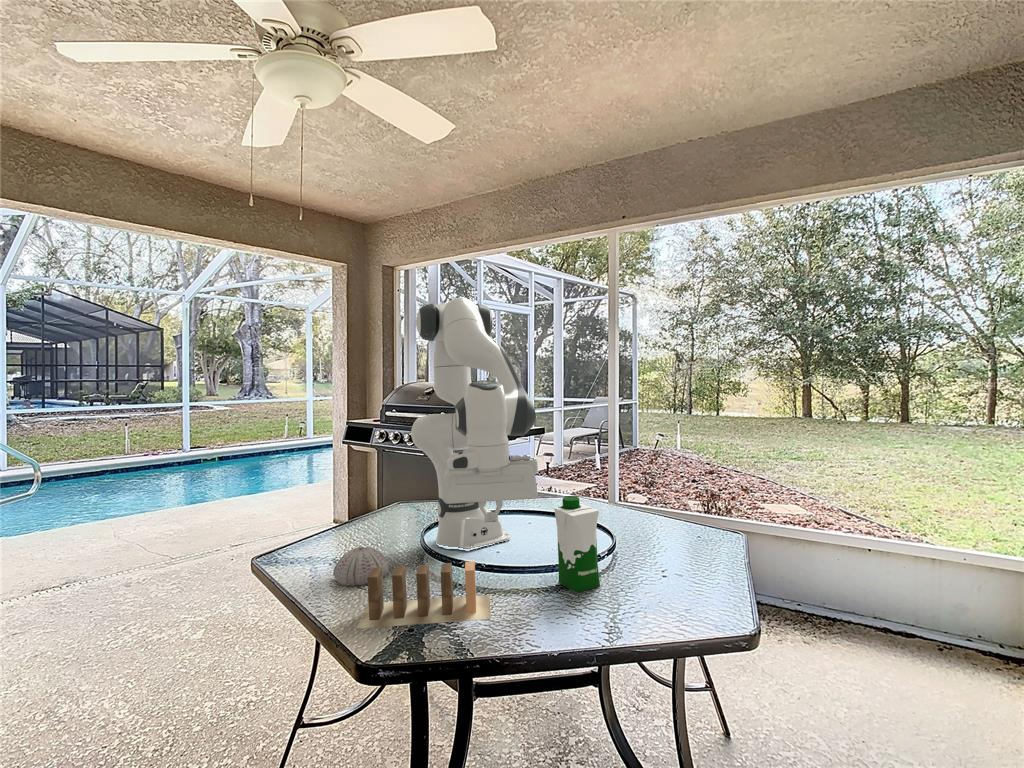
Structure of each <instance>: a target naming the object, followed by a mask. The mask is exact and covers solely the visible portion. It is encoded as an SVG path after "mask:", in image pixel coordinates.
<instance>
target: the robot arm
mask: <svg viewBox="0 0 1024 768" xmlns="http://www.w3.org/2000/svg"><path fill="white" fill-rule="evenodd" d="M493 326H494V317H493V314H492V310H491V309H490V307H489V306H487V305H484V304H481V303H476V304H475V302H474V301H472V300H471V299H469V298H466V297H456V298H452V299H451V300H449V301H448V302H447V303H438V304H437V303H436V304H433V303H428V304H424V305H421V307H420V308H419V309H418V312H417V314H416V317H415V327H416V330H417V332H418V335H419V337H420V338H421V339H422V340H425V341H428V342H434V341H435V344H434V350H433V351H434V353H433V380H434V381H433V385H434V386H433V387H434V393H435V395H436V396H437V397H438V398H439V399H440V400H442V401H445V402H447V403H449V404H451V405H453V406H454V413H434V414H428V415H423V416H419V417H417V418H416V419H415V421H414V422H413V424H412V427H411V429H410V436H411V440H412V442H413V445H415V447H416V448H417V449H418V450H420V451H422V452H423V453H425V455H426V456H427V457H428V458H429V459H430V461H431V462H432V464H433V467H434V469H435V472H436V479H437V487H438V496H437V504H436V505H437V515H438V527H437V536H436V540H435V543H437V544H439V545H443V546H448V547H458V548H463V549H471V548H475V547H480V546H484V545H489V544H493V543H498V542H502V543H504V542H503V541H505V542H509V541H510V540H511V535H510V533H509V532H508V531H507V530H506V529H505V528H503V525H502V521H501V519H500V518H499V513H500V511H502V510H501V509H502V508H503V507H504V506H503V502H504V501H505V502H507V501H521V500H535V499H536V497H537V496H538V493H539V492H538V484H537V479H536V475H537V474H538V473H537V472H538V469H539V468H538V465H539V464H538V461H537V459H536V458H535V457H533V456H531V455H530V454H523V455H510V446H509V445H510V444H509V438H508V436H510V437H511V436H513V437H518V436H520V437H523V436H525V435H526V434H527V433H529V432H530V430H531V429H532V428H533V427H534V426H535V423H536V409H535V406H534V403H533V400H532V399H531V397H530V396H529V395H528V393H527V392H526V391H525V389H524V386H523V384H522V383H521V380H520V379H519V376H518V374H517V372H516V370H515V368H514V366H513V364H512V361H511V360H510V358H509V356H508V354H507V352H506V350H505V349H504V348H503V346H502V345H500V344H498V343H497V342H495V341H494V340H493V339H492V338H491V337H490V335H491V334H492V330H493V328H494V327H493ZM471 368H473V369H477V370H481V371H484V372H486V373H489V374H491V375H492V376H494V377H495V378H496V380H497V381H496V380H490V379H488V380H487V379H486V380H485V379H483V380H475V381H473V382H472V372H471ZM459 450H460V451H459ZM461 450H462V451H461ZM454 451H458V452H455V453H454ZM488 502H495V506H496V508H495V509H494V511H491V510H490V509H489V508H487V507H486V503H488ZM508 540H509V541H508ZM498 544H499V543H498ZM471 546H472V547H471Z"/></svg>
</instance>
